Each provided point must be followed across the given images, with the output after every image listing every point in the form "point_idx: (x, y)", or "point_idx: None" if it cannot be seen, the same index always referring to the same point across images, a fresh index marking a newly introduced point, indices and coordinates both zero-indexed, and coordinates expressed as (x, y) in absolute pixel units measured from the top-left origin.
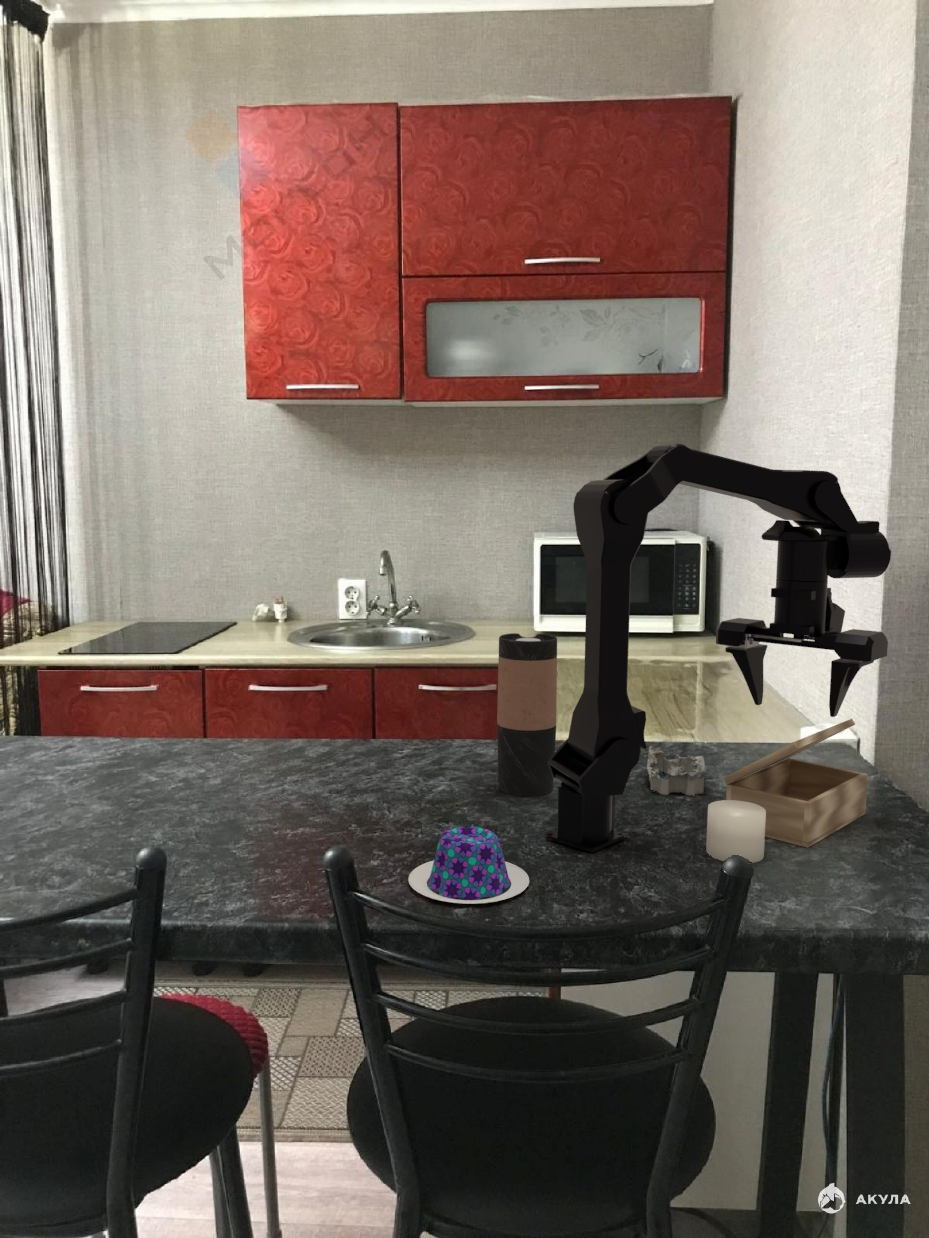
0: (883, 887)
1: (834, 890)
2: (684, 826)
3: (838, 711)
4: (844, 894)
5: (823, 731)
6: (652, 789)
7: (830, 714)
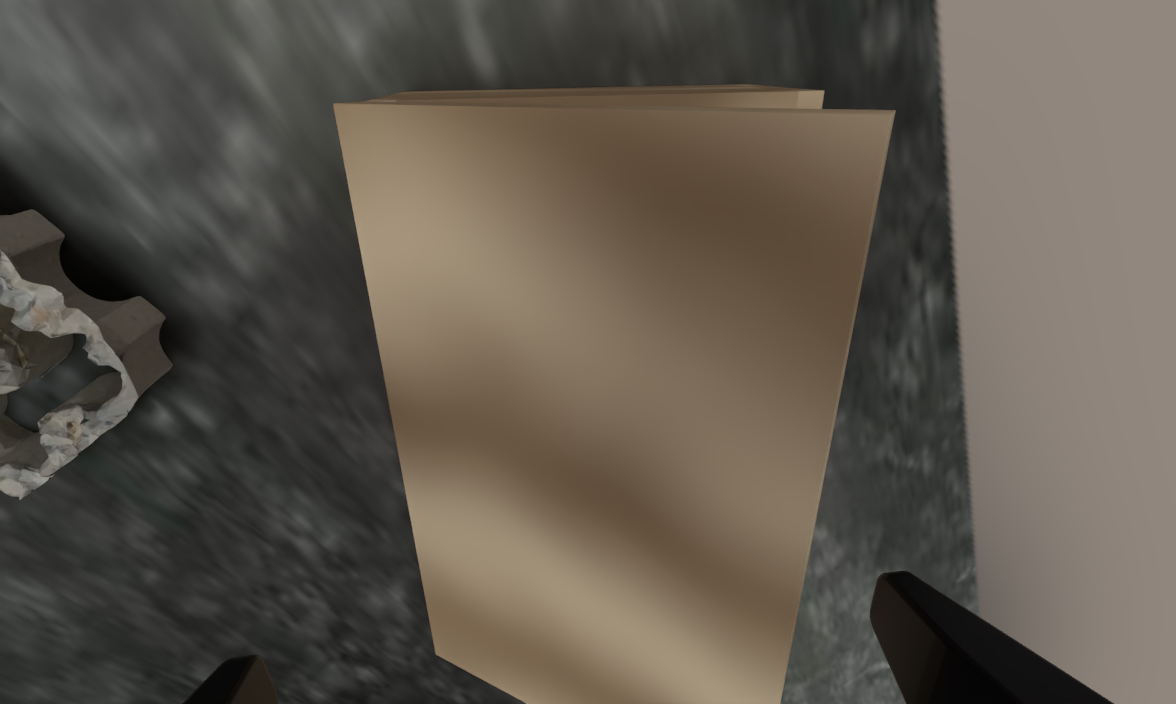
0: None
1: (829, 639)
2: (391, 594)
3: (935, 591)
4: (850, 641)
5: (799, 589)
6: (33, 433)
7: (879, 636)
